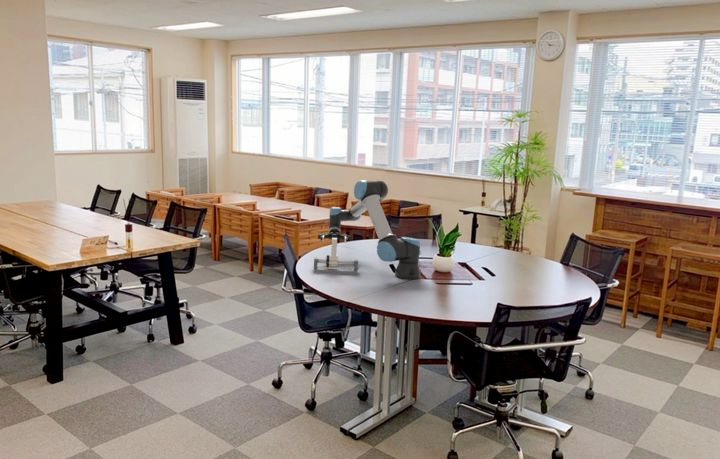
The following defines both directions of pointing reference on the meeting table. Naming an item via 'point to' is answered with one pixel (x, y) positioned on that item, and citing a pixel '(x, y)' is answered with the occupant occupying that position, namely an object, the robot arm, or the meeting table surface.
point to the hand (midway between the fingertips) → (334, 239)
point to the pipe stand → (336, 270)
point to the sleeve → (333, 254)
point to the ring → (327, 261)
